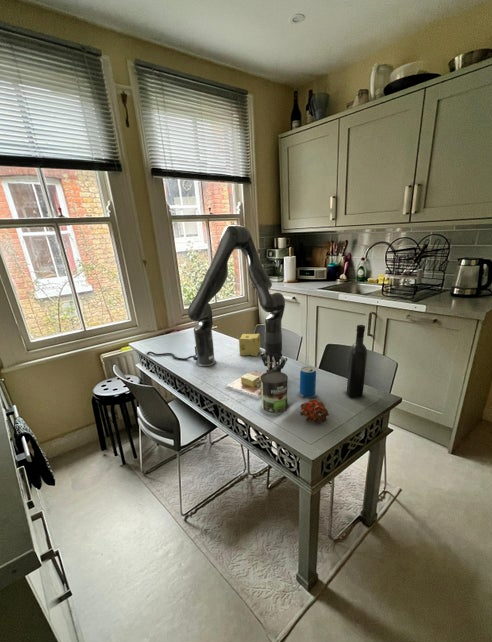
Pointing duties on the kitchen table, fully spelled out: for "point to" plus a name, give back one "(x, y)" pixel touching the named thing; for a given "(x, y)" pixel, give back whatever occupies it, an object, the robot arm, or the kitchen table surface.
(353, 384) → the wine bottle
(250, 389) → the board
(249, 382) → the butter
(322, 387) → the kitchen table surface
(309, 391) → the beverage can
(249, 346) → the cheese
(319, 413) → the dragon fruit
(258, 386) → the knife
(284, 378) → the coffee can
